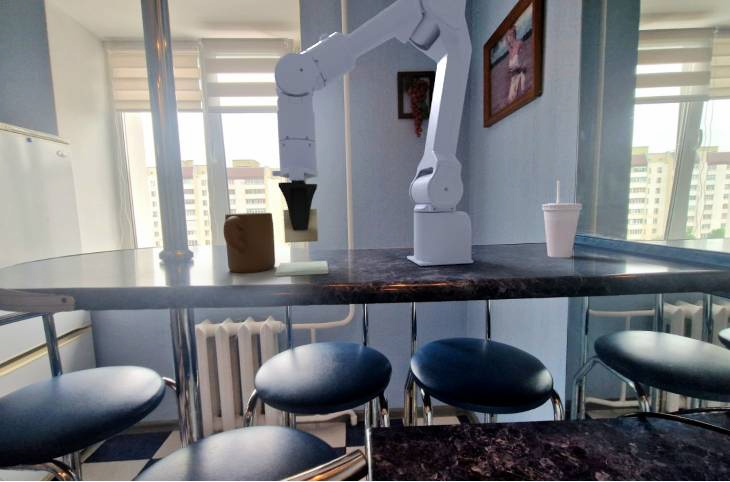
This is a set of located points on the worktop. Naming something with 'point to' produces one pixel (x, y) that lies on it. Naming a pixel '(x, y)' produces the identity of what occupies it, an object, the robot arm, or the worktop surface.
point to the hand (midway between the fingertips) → (301, 229)
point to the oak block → (301, 235)
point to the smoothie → (560, 226)
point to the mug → (249, 242)
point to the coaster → (302, 268)
